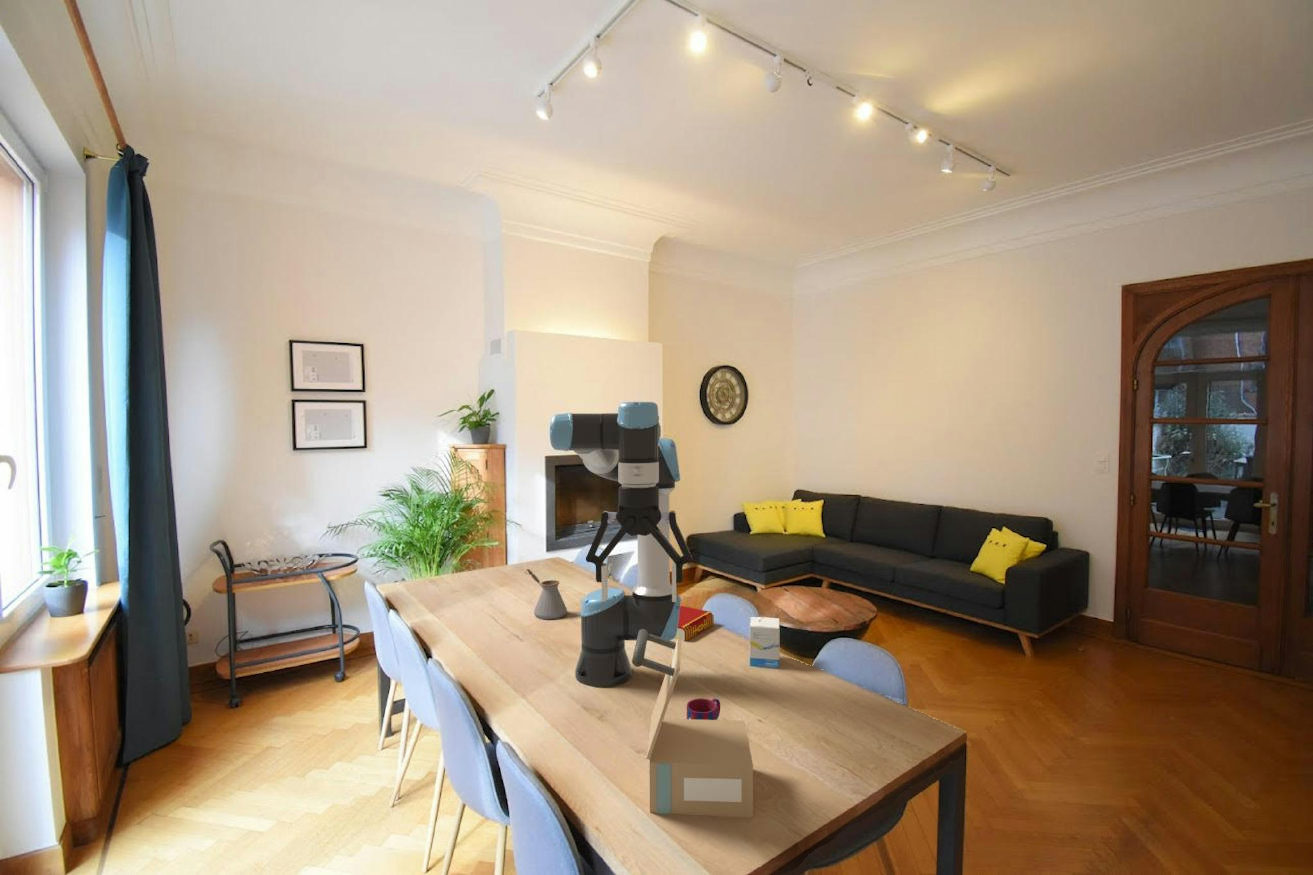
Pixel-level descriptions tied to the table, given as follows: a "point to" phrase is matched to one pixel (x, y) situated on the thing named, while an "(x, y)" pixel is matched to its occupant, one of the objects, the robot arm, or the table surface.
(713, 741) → the carton
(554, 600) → the coffee pot
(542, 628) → the table surface
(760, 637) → the ink box
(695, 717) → the mug
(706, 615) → the book
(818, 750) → the table surface
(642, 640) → the flap
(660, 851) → the table surface
